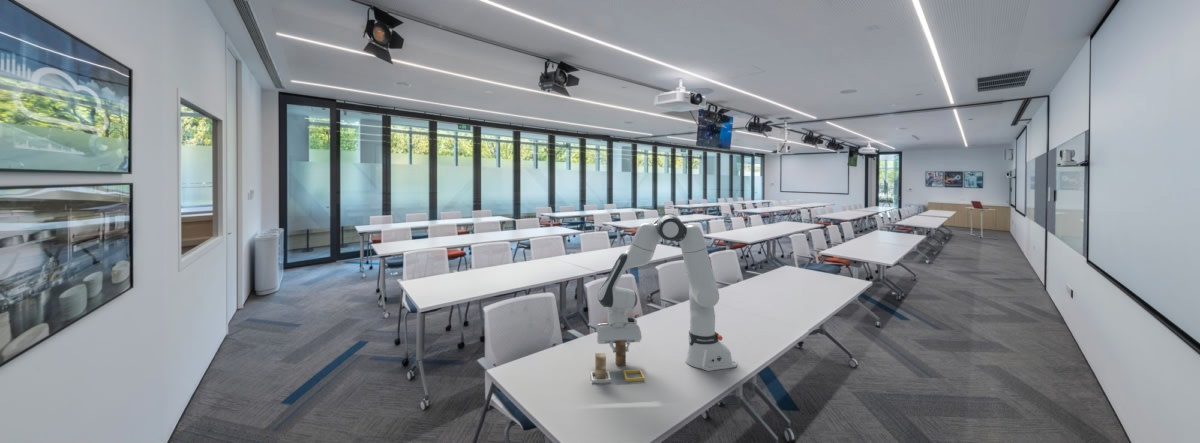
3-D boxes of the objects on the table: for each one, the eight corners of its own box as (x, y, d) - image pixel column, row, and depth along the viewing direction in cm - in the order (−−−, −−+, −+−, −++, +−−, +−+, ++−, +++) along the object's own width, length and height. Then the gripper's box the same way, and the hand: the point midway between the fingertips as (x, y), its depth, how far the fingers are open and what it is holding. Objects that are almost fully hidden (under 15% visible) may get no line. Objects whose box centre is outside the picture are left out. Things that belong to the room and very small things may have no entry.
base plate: (640, 372, 187) (640, 367, 187) (646, 385, 175) (646, 380, 175) (589, 374, 185) (589, 369, 185) (592, 388, 173) (592, 382, 173)
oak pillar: (604, 375, 182) (604, 352, 181) (605, 380, 178) (605, 356, 177) (595, 376, 181) (595, 353, 180) (596, 380, 177) (596, 357, 176)
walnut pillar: (624, 361, 195) (624, 340, 194) (625, 365, 192) (625, 343, 190) (615, 362, 195) (615, 340, 194) (616, 365, 191) (616, 344, 190)
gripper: (595, 320, 197) (597, 349, 189) (639, 318, 199) (644, 347, 191) (595, 326, 202) (597, 355, 194) (638, 325, 204) (642, 353, 195)
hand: (620, 351), depth 192 cm, fingers closed on walnut pillar, 4 cm apart
